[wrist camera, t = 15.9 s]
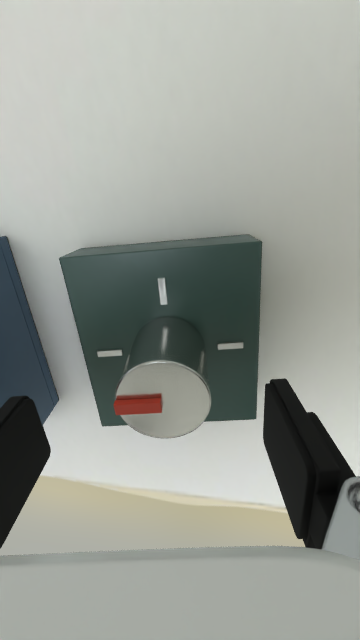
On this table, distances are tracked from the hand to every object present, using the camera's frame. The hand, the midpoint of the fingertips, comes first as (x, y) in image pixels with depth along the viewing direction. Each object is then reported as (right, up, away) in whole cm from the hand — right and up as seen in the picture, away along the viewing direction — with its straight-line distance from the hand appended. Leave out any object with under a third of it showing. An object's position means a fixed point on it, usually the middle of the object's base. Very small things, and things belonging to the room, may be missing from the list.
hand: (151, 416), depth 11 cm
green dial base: (+1, +3, +7) cm, 8 cm away
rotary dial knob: (+1, +2, +4) cm, 5 cm away
